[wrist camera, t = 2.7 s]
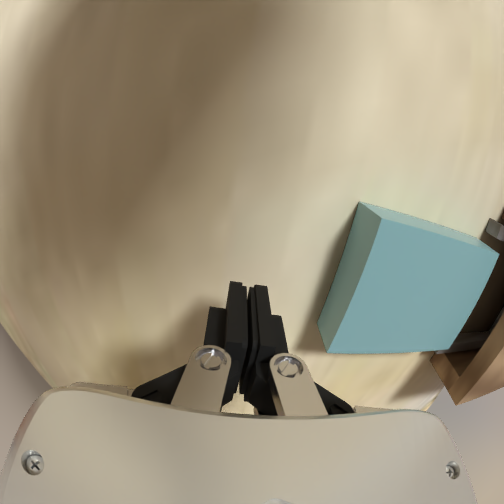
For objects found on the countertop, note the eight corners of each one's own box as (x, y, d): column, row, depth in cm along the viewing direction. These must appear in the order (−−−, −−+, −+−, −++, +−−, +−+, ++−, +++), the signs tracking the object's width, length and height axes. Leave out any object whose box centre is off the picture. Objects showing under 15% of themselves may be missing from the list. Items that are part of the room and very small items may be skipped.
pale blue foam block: (359, 201, 15) (381, 218, 12) (476, 237, 16) (499, 254, 13) (316, 323, 19) (326, 353, 16) (432, 327, 20) (448, 349, 17)
